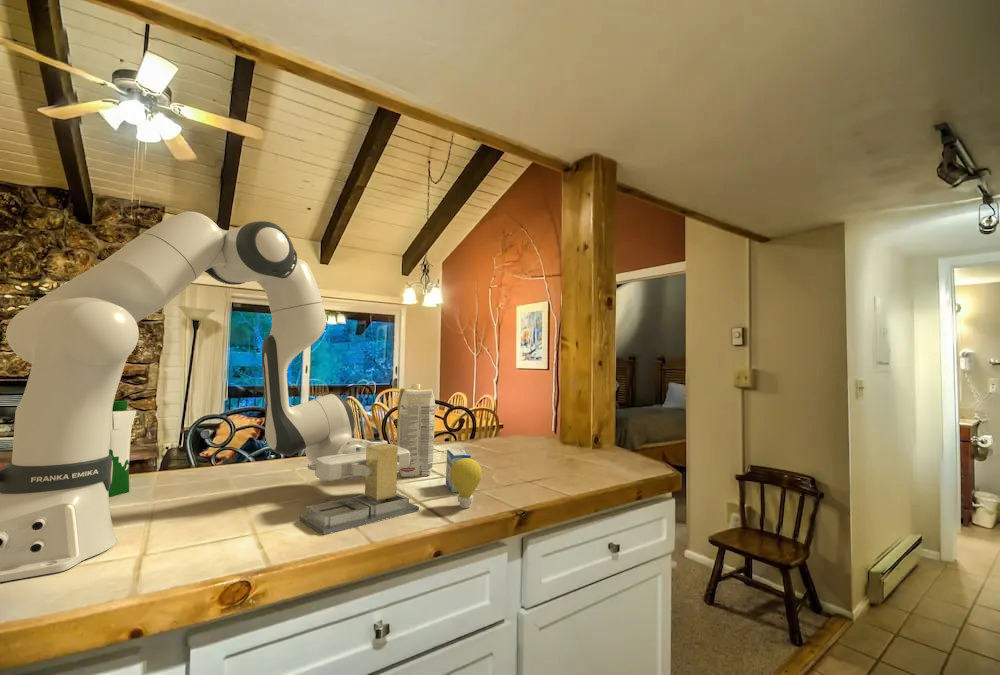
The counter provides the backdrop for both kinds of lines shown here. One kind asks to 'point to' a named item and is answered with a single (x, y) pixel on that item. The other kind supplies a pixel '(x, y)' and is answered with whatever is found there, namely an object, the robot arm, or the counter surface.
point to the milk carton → (120, 446)
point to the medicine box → (453, 457)
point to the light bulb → (466, 479)
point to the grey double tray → (354, 512)
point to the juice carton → (416, 429)
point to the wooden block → (381, 472)
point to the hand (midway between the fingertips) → (383, 469)
